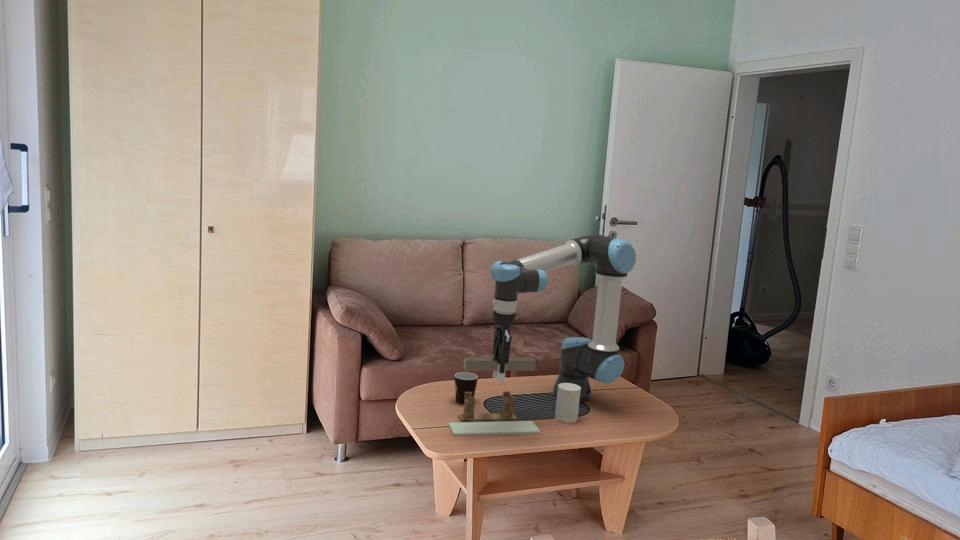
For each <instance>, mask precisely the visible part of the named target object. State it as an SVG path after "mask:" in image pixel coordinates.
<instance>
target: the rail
mask: <svg viewBox="0 0 960 540" xmlns="http://www.w3.org/2000/svg"><path fill="white" fill-rule="evenodd" d="M497 362H499V357H494V356H493V357H489V356H487V357H485V356H484V357H483V356H482V357H478V356H477V357H475V356H473V357H472V356H471V357H469V356H467V357H463V366H462V367H463V370H465V371H464V372H492V371H497ZM536 366H537V360H536V359H535V358H534V357H532V356H531V357H526V356H525V357H510V356H509V362H508V363H507V364H506V370H505V372H509V371H510V372H511V371H512V372H518V371H519V372H524V371H525V372H526V371H527V372H529V371H530V372H533V371H534V372H535V371H536Z"/></svg>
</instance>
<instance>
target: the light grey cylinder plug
mask: <svg viewBox="0 0 960 540" xmlns="http://www.w3.org/2000/svg"><path fill="white" fill-rule="evenodd" d="M580 391H581V387H580V386H578V385H576V384H572V383H560V384H558V391H557V397H556V401H555V402H556V403H555V410H554V411H555V412H554V419H555V420H556V419H557V421H558V420H559V421H558V422H560V421H562V422H561V423H565V422H568V424H571V423H570V422H574V423H576V422H577V421H578V418H579V417H578V416H579V406H580V402H579V401H580Z"/></svg>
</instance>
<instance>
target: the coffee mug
mask: <svg viewBox="0 0 960 540" xmlns="http://www.w3.org/2000/svg"><path fill="white" fill-rule="evenodd" d="M478 379H479V376H478V375H477V374H475V373H472V372H469V371H460V372H457V373H455V374H454V387H455V388H454V389H455V390H454V392H455V402H456V404H458V405H463V406H464V401H465V399H468V398H465V392H472V397H475V394H476V389H477V384H478Z"/></svg>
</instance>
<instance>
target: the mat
mask: <svg viewBox="0 0 960 540" xmlns="http://www.w3.org/2000/svg"><path fill="white" fill-rule="evenodd" d="M447 425H448V427H449V429H450V431H451V433H452V435H453V437H455V436H456V437H457V436H458V437H459V436H464V437H465V436H493V435H494V436H495V434H496V436H497V434H499V435H500V434H502V435H530V434H531V435H532V434H533V435H535V434H536V435H537V434H541V432H542V431H541V430H540V428H539V427H538V426H537V424H535V422H534V421H533V420H517V421H498V422H461V421H460V422H448V424H447ZM499 435H498V436H499Z"/></svg>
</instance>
